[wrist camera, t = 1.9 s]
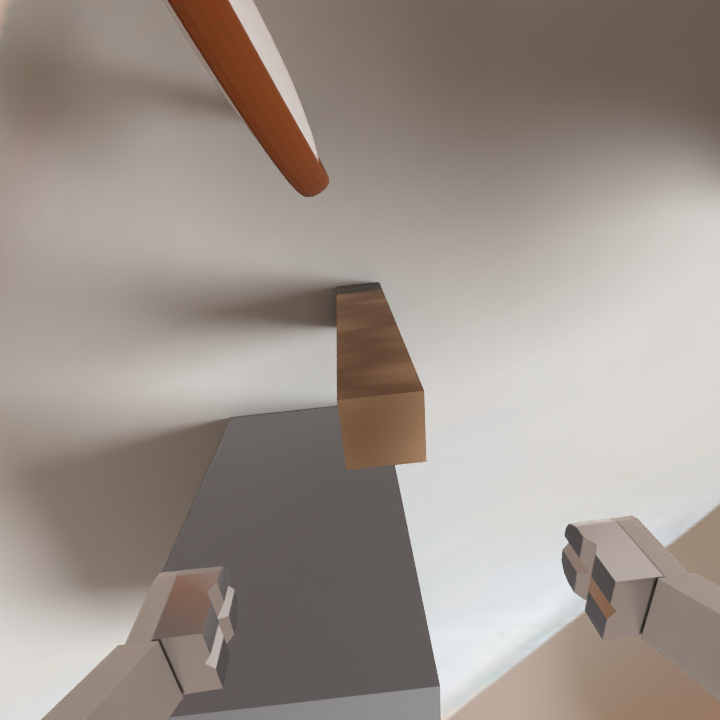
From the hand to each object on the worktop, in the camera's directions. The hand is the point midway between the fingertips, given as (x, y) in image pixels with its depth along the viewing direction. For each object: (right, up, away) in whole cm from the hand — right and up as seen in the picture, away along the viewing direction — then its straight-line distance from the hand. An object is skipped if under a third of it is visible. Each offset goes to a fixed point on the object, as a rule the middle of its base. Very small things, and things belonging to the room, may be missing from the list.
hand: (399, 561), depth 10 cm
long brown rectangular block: (-1, +9, +19) cm, 21 cm away
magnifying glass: (-5, +19, +15) cm, 25 cm away
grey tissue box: (-4, -7, +26) cm, 28 cm away
